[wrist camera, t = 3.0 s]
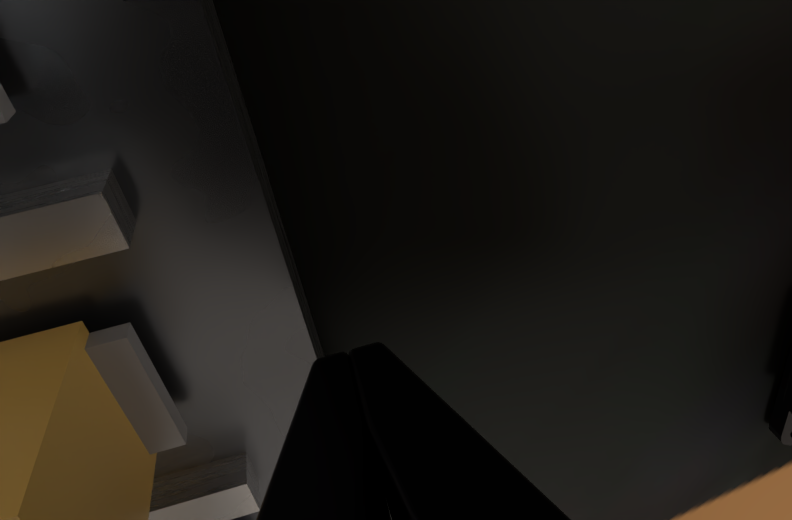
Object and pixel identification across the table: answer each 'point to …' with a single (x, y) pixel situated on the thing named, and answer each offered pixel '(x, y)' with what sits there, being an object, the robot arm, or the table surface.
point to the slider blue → (5, 107)
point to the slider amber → (81, 425)
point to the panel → (154, 229)
